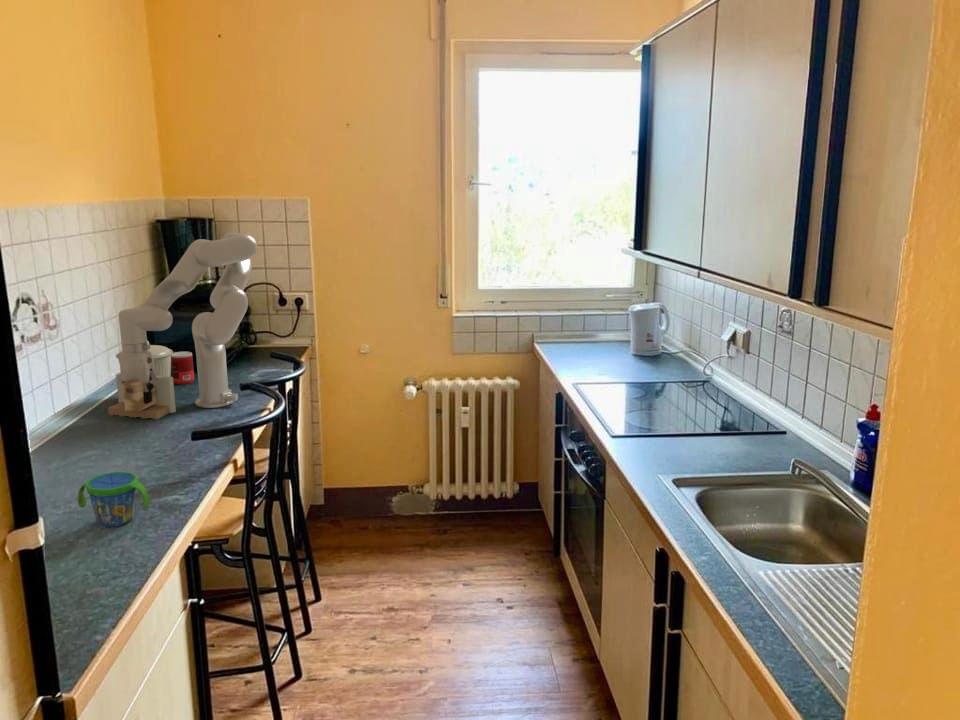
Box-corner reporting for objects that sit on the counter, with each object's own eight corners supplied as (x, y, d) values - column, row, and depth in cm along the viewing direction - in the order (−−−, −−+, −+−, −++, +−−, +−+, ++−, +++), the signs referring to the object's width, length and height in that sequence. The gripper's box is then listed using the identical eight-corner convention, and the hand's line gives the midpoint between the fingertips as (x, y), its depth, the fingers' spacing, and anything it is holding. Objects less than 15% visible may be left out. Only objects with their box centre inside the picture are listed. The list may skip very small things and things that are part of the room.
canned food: (198, 379, 292) (195, 351, 289) (188, 385, 284) (185, 356, 282) (178, 378, 293) (176, 351, 290) (168, 384, 285) (166, 355, 282)
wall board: (176, 411, 253) (172, 377, 250) (160, 419, 245) (156, 383, 242) (123, 407, 258) (119, 373, 255) (106, 414, 250) (102, 379, 247)
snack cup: (160, 514, 179) (156, 473, 176) (133, 534, 169) (129, 492, 166) (99, 508, 181) (94, 468, 179) (70, 528, 171) (64, 486, 169)
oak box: (156, 403, 252) (153, 376, 249) (137, 411, 242) (134, 384, 240) (143, 402, 253) (140, 375, 250) (123, 410, 244) (120, 383, 241)
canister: (186, 392, 275) (181, 335, 270) (160, 407, 258) (154, 346, 253) (138, 390, 277) (132, 333, 272) (110, 405, 260) (103, 345, 255)
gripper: (165, 346, 245) (170, 400, 249) (119, 343, 248) (125, 397, 253) (151, 351, 238) (156, 407, 242) (103, 348, 241) (109, 403, 246)
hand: (140, 401), depth 247 cm, fingers closed on oak box, 5 cm apart
